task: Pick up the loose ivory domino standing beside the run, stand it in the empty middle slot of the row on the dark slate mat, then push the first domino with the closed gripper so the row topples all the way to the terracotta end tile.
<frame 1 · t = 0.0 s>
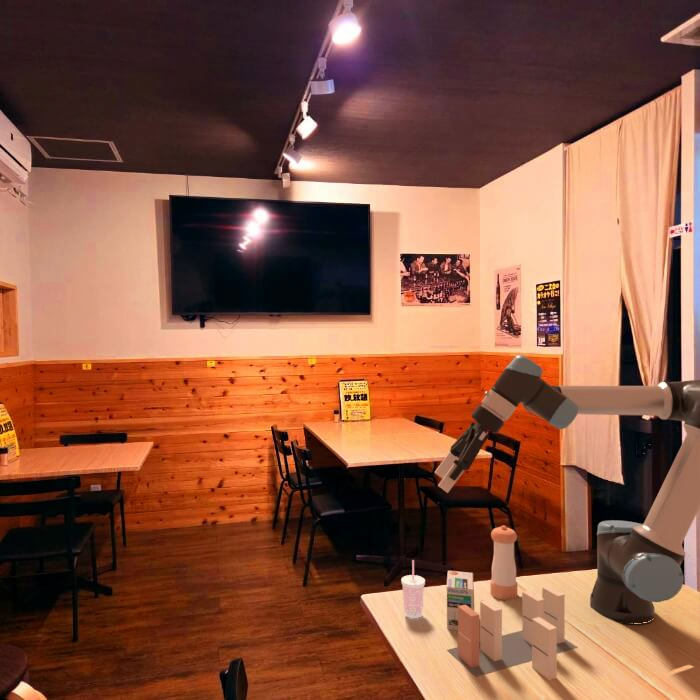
hand: (440, 482, 136), 36 cm above the table, tool tilted 35°, fingers open, 13 cm apart
slate mat: (512, 651, 126), on the table
beverage cup: (413, 615, 143), on the table
domino 5: (468, 660, 121), point 1 cm above the table, touching slate mat
light bulb box: (460, 622, 139), on the table
domino 2: (533, 642, 128), point 1 cm above the table, touching slate mat
salt shaker: (503, 595, 154), on the table
loose domino: (544, 675, 116), on the table
domino 4: (490, 654, 123), point 1 cm above the table, touching slate mat
domino 1: (553, 637, 130), point 1 cm above the table, touching slate mat
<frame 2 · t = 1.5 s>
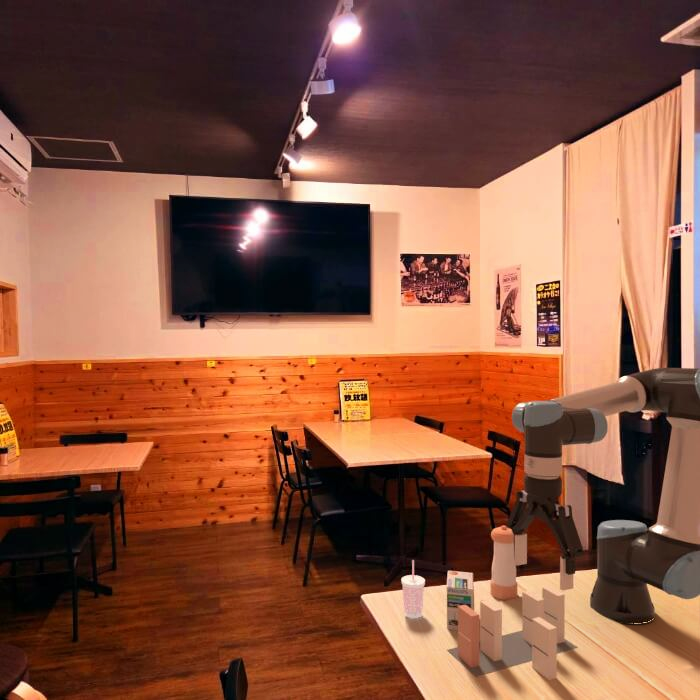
hand: (542, 575, 117), 21 cm above the table, tool pointing down, fingers open, 13 cm apart
nothing on the table moved.
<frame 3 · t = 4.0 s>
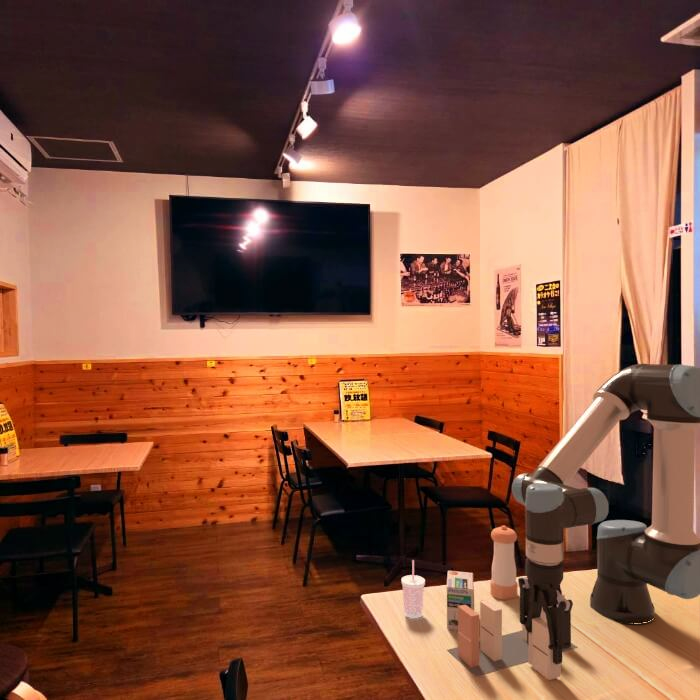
hand: (544, 669, 116), 1 cm above the table, tool pointing down, fingers closed on loose domino, 5 cm apart
loose domino: (544, 675, 116), on the table, touching gripper
everything else where it was.
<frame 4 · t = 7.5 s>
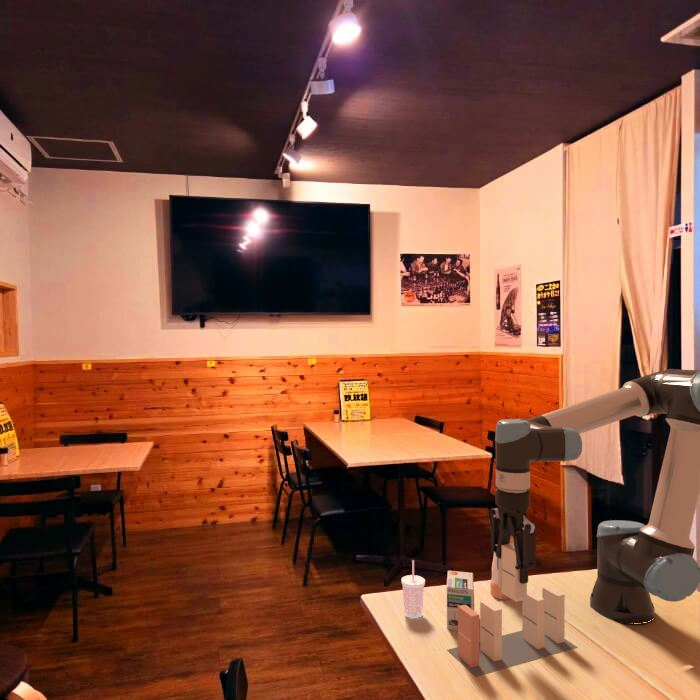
hand: (512, 590, 125), 14 cm above the table, tool pointing down, fingers closed on loose domino, 5 cm apart
loose domino: (512, 596, 125), point 12 cm above the table, touching gripper
everything else where it was.
when the fingers open (3 cm above the table, at t = 11.3 s): loose domino stays where it is, resting on slate mat.
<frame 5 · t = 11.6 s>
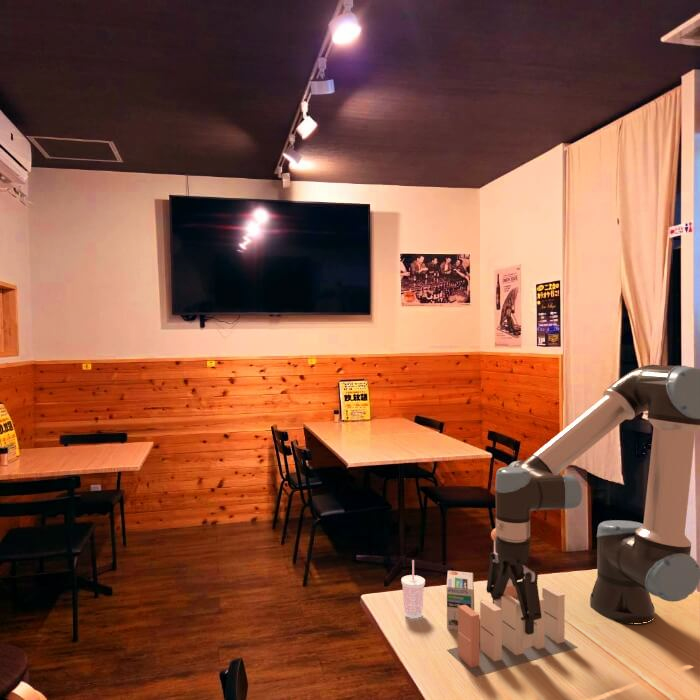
hand: (512, 636, 126), 3 cm above the table, tool pointing down, fingers open, 8 cm apart
loose domino: (512, 648, 126), point 1 cm above the table, touching slate mat
everything else where it was.
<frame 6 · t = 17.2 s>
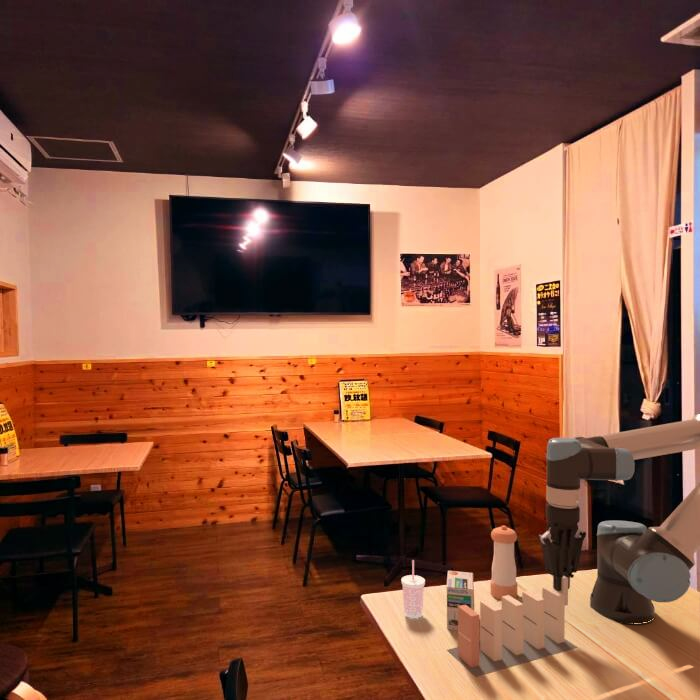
hand: (561, 603, 132), 8 cm above the table, tool pointing down, fingers closed
domino 1: (553, 637, 130), point 1 cm above the table, touching gripper, slate mat
everything else where it was.
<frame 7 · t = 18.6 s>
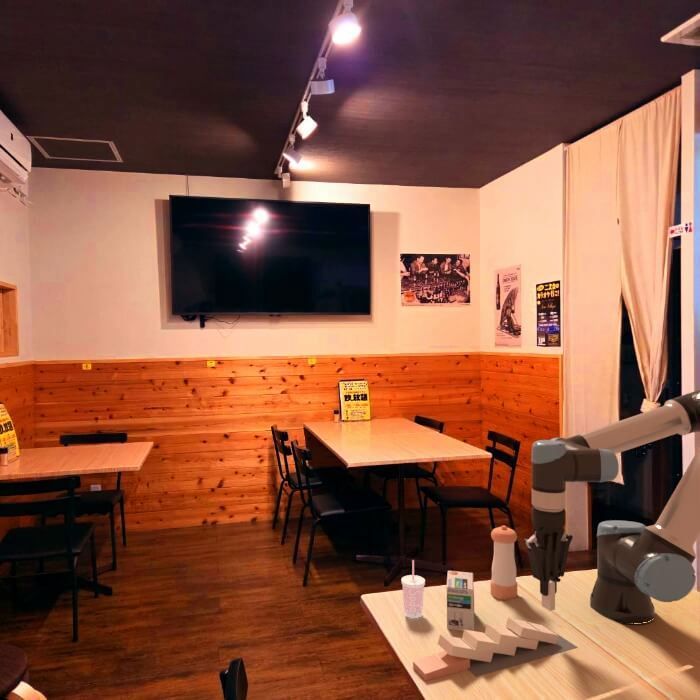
hand: (548, 607, 130), 8 cm above the table, tool pointing down, fingers closed
domino 5: (463, 657, 120), point 2 cm above the table, tilted 93°, touching domino 4, slate mat
domino 2: (529, 639, 128), point 2 cm above the table, tilted 71°, touching domino 1, loose domino, slate mat
loose domino: (508, 645, 125), point 2 cm above the table, tilted 71°, touching domino 2, domino 4, slate mat
domino 4: (484, 651, 123), point 2 cm above the table, tilted 70°, touching domino 5, loose domino, slate mat
domino 1: (549, 634, 130), point 2 cm above the table, tilted 69°, touching domino 2, slate mat
everything else where it was.
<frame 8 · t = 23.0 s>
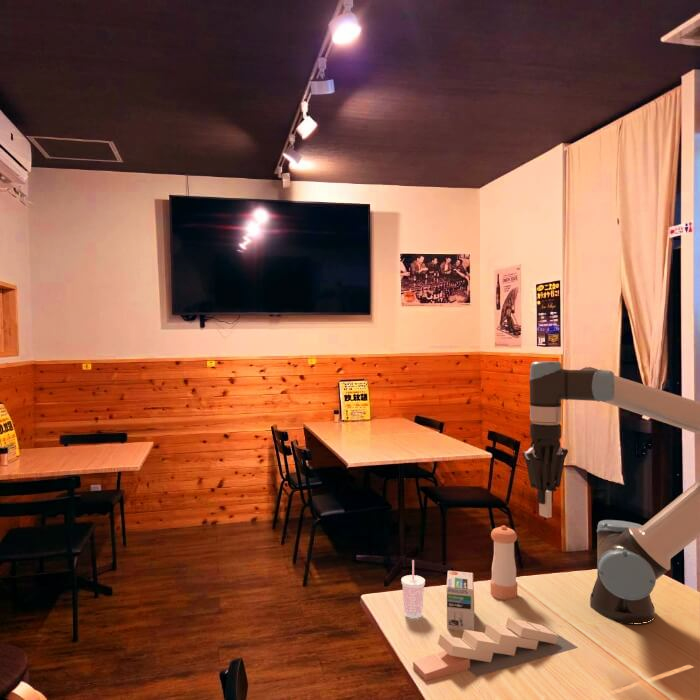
hand: (545, 516, 139), 26 cm above the table, tool pointing down, fingers closed
nothing on the table moved.
at the end: loose domino inside the target area (0.7 cm from its centre), point 1.5 cm above the table; loose domino tilted 71°; domino 5 tilted 93° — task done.
